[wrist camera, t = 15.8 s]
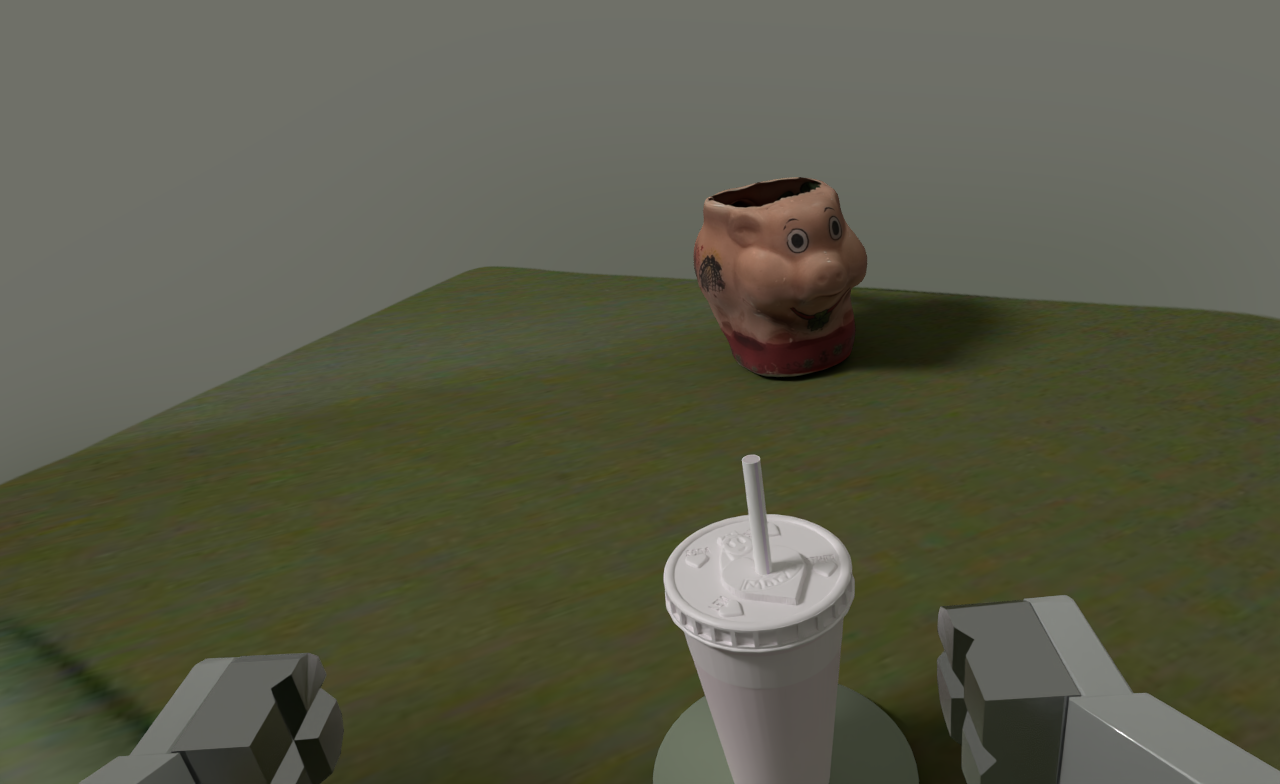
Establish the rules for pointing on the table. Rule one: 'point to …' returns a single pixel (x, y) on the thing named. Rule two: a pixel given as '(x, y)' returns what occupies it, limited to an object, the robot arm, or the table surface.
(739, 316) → the cartoon character mug
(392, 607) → the table surface
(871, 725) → the rubber pad
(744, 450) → the table surface
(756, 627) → the smoothie
